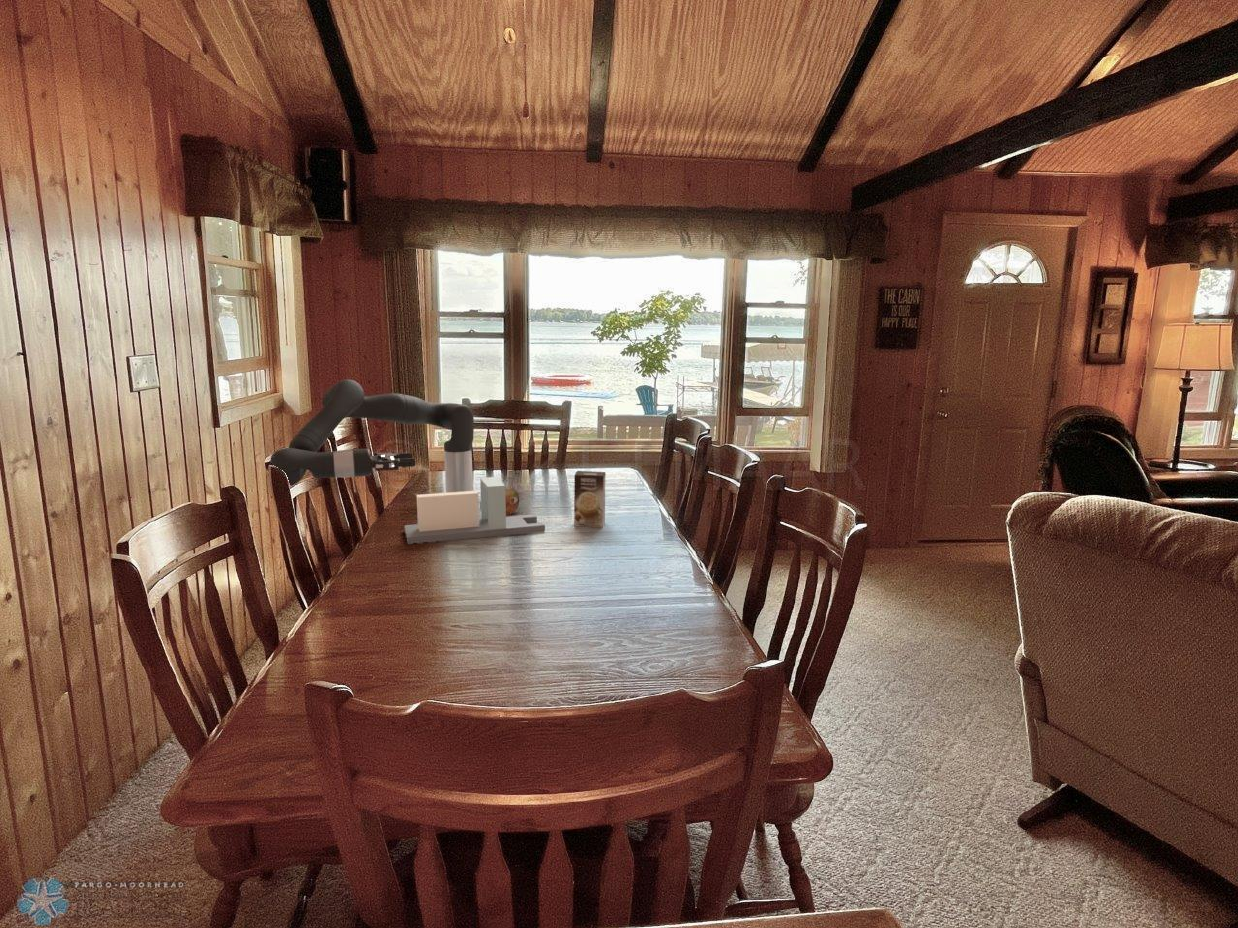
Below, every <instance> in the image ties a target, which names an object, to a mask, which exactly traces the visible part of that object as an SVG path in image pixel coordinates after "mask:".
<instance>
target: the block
mask: <svg viewBox="0 0 1238 928" xmlns="http://www.w3.org/2000/svg"><path fill="white" fill-rule="evenodd" d="M479 507H480V504H479V493H478V491H477V490H473V491H464V492H450V493H446V492H441V493H440V492H439V493H437V492H436V493H425V494H424V493H423V494H416V511H417V513H416V514H417V516H416V517H417V524H418V530H419V532H422V531H433V530H444V529H456V528H467V527H478V526H479V519H480V510H479Z"/></svg>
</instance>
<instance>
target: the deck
mask: <svg viewBox="0 0 1238 928" xmlns="http://www.w3.org/2000/svg"><path fill="white" fill-rule="evenodd" d="M537 519H538V516H537V515H536V514H535V513H534V514H524V515H523V514H522V515H511V516H509V515H508V516H506V528H505V529H494V530H489V529H488V519H486V520H482V519H481V518H479V526H478V527H467V528H456V529H444V530H433V531H422V532H419V530H418V523H415V524H406V525H404V526H403V527H404V533H405V534H406V535H405V539H406V538H407V539H406V543H407V545H413V543H417V544H424V543H423V542H428V543H435V542H436V541H439V542H447V541H449V540H450V541H458V540H468V539H481V538H491V537H501V536H511V535H524V534H533V533H543V532H544V531H545V532H546V525H545V524H544V522H538V520H537ZM436 543H437V542H436Z"/></svg>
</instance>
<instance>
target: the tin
mask: <svg viewBox="0 0 1238 928" xmlns="http://www.w3.org/2000/svg"><path fill="white" fill-rule="evenodd" d="M505 503H506V516H509V515H512V514H514V513H515V512H516V511H517V509H518V508H519V505H520V496H519V492H517V490H515V489H514V488H508V487H507V488H506V487H505ZM479 507H480V510H481V501H480V503H479Z"/></svg>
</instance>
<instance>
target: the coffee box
mask: <svg viewBox="0 0 1238 928" xmlns="http://www.w3.org/2000/svg"><path fill="white" fill-rule="evenodd" d="M606 476H607V475H606V471H591V470H590V471H588V470H577V471H576V472H575V473H574V492H573V494H574V497H573V498H574V501H573V503H574V505H573V506H574V507H573V513H574V514H573V526H574V527H584V528H585V527H586V528H588V527H590V528H603V527H604V525H605V521H606V520H605V519H606Z"/></svg>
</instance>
